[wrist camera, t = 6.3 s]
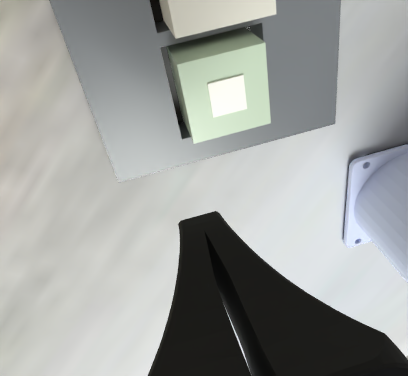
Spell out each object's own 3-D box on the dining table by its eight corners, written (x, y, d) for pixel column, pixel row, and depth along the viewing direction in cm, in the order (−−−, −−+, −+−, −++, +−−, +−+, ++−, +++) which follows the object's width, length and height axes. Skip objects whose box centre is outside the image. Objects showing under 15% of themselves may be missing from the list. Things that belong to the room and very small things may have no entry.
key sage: (243, 25, 18) (266, 42, 16) (250, 99, 21) (271, 123, 18) (166, 44, 18) (177, 65, 16) (182, 116, 20) (194, 144, 18)
